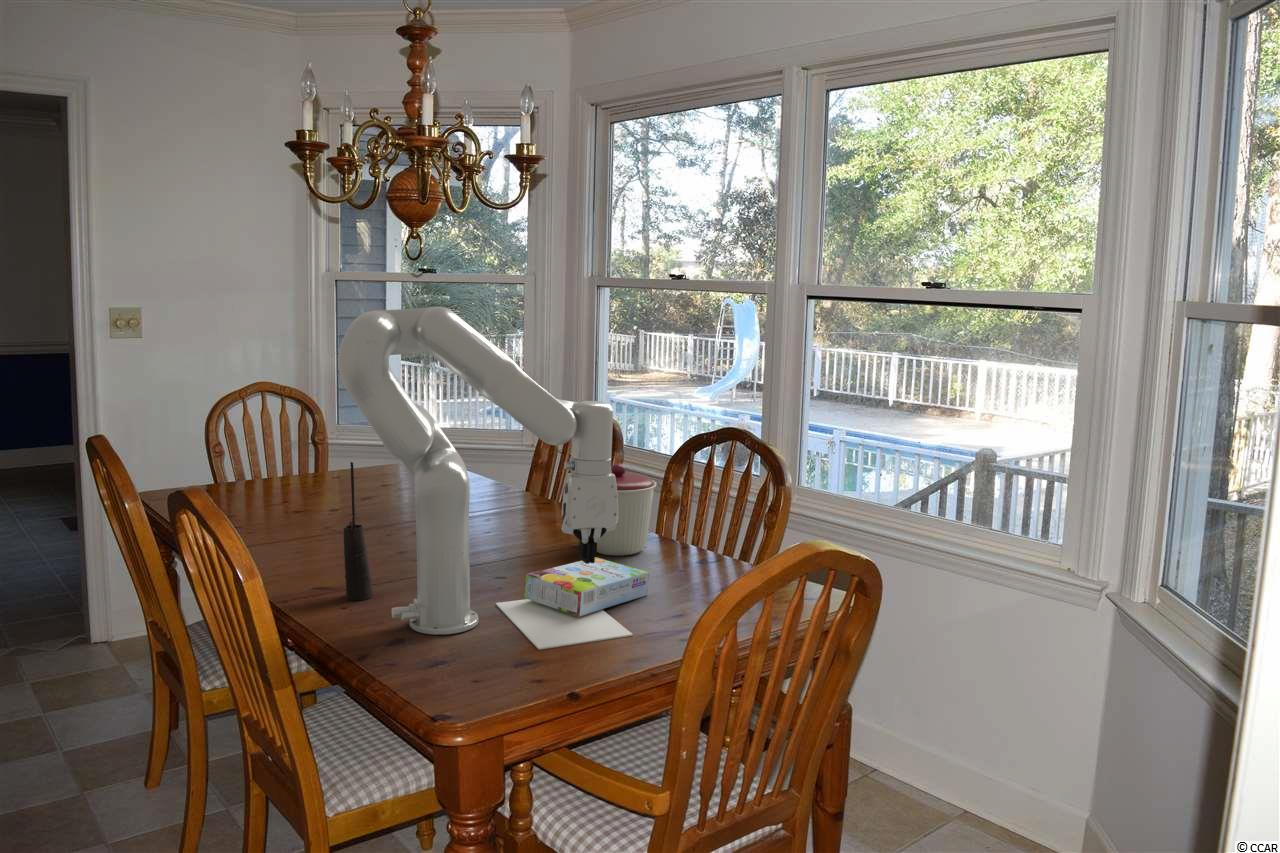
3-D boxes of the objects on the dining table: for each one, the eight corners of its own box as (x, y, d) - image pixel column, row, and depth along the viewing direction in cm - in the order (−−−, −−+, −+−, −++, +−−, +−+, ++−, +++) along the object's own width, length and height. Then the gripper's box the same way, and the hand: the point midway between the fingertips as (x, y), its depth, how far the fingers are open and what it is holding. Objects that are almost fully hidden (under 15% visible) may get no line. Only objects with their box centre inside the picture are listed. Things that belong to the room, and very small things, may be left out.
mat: (538, 649, 173) (538, 648, 173) (495, 604, 196) (495, 603, 196) (632, 635, 181) (632, 634, 181) (580, 593, 204) (580, 592, 204)
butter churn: (339, 588, 205) (335, 454, 201) (386, 588, 206) (383, 455, 201) (328, 602, 196) (323, 463, 192) (377, 602, 197) (373, 463, 192)
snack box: (648, 598, 204) (594, 579, 213) (650, 571, 203) (596, 554, 212) (577, 619, 187) (522, 598, 197) (579, 590, 187) (524, 571, 196)
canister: (586, 563, 226) (587, 472, 223) (573, 542, 243) (574, 457, 240) (663, 559, 230) (665, 469, 227) (645, 538, 247) (646, 455, 244)
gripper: (560, 472, 180) (557, 570, 183) (635, 469, 186) (631, 563, 189) (546, 464, 187) (543, 559, 189) (619, 462, 193) (615, 553, 196)
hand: (587, 561), depth 189 cm, fingers closed
